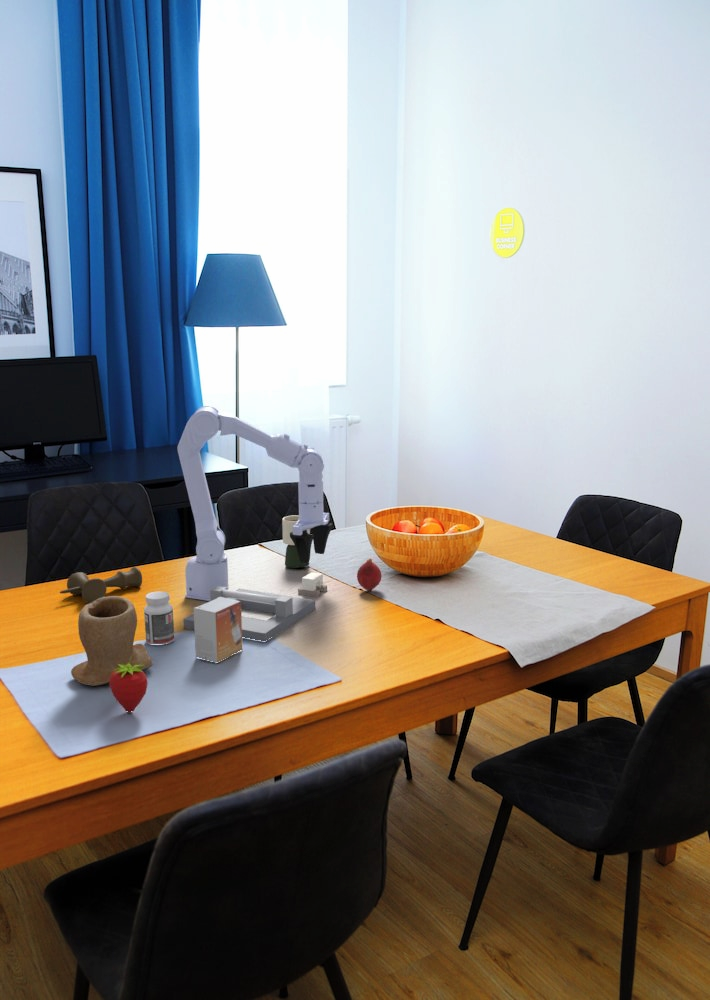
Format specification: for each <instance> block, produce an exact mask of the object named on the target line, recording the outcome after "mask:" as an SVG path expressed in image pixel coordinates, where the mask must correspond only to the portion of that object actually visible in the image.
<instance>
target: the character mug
mask: <svg viewBox="0 0 710 1000" xmlns="http://www.w3.org/2000/svg"><path fill="white" fill-rule="evenodd" d="M281 519H282V520H281V521H282V522H281V523H282V524H281V526H282V528H281V529H282V542H283V544H285V545H287V546H286V548H285V558H284V566H285V567H286V568H291V569H296V568H299V569H302V568H303V567H308V566H309V565H310V561H309V562H308V563H304V562H300V560H299V556H298V553H297V549H296V547H295V544H294V542H293V541H292V539H291V538H290V532H292V531H293V526H295V525H296V523H297V521H298V520H299V514H298V515H296V514H295V515H294V514H292V515H288V516H284V517H283V518H281ZM307 533H308V534H311V530H310V529H309V530H307Z"/></svg>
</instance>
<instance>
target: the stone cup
mask: <svg viewBox="0 0 710 1000" xmlns="http://www.w3.org/2000/svg"><path fill="white" fill-rule="evenodd" d="M137 614H138V613H137V610H136V608H135V606H134V603H133V602H132V601H131V600H130V599H129V598H126V597H124V596H120V595H119V596H118V595H108V596H105V597H102V598H99V599H97V600H95V601H93V602H92V603H90V604H89V603H87V604H85V605H84V606H83V607H82V609H81V610H80V612H79V613H78V620H77V627H78V635H79V640H80V642H81V644H82V645H81V646H82V647H83V649H84V651H85V655H86V658H87V660H85V661H83V662H80V663H79V664H76V665H75V666H73V667H72V669H71V670H70V674H71V676H72V678H73V679H74V680H75V681H77V682H78V683H80V684H82V685H87V686H92V687H93V686H95V687H97V686H101V685H105V684H109V681H110V676H111V674H112V673H113V672H114V671H115V670H114V671H113V669H118V668H120V667H119V666H118V664H121V665H127V664H128V663H129V664H130V665H131V666H132V667H133V666H134V665H145V666H142V667H138V669H140V670H142V671H144V670H146V669H147V668H151V667H152V666H154V662H153V658H151V656H150V654H149V653H148V652H147V648H146V647H147V646H146V645H144V643H135V636H136V635H135V634H136V631H137V627H138V615H137ZM131 656H132V657H131ZM130 658H131V660H130ZM129 660H130V662H129Z"/></svg>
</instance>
